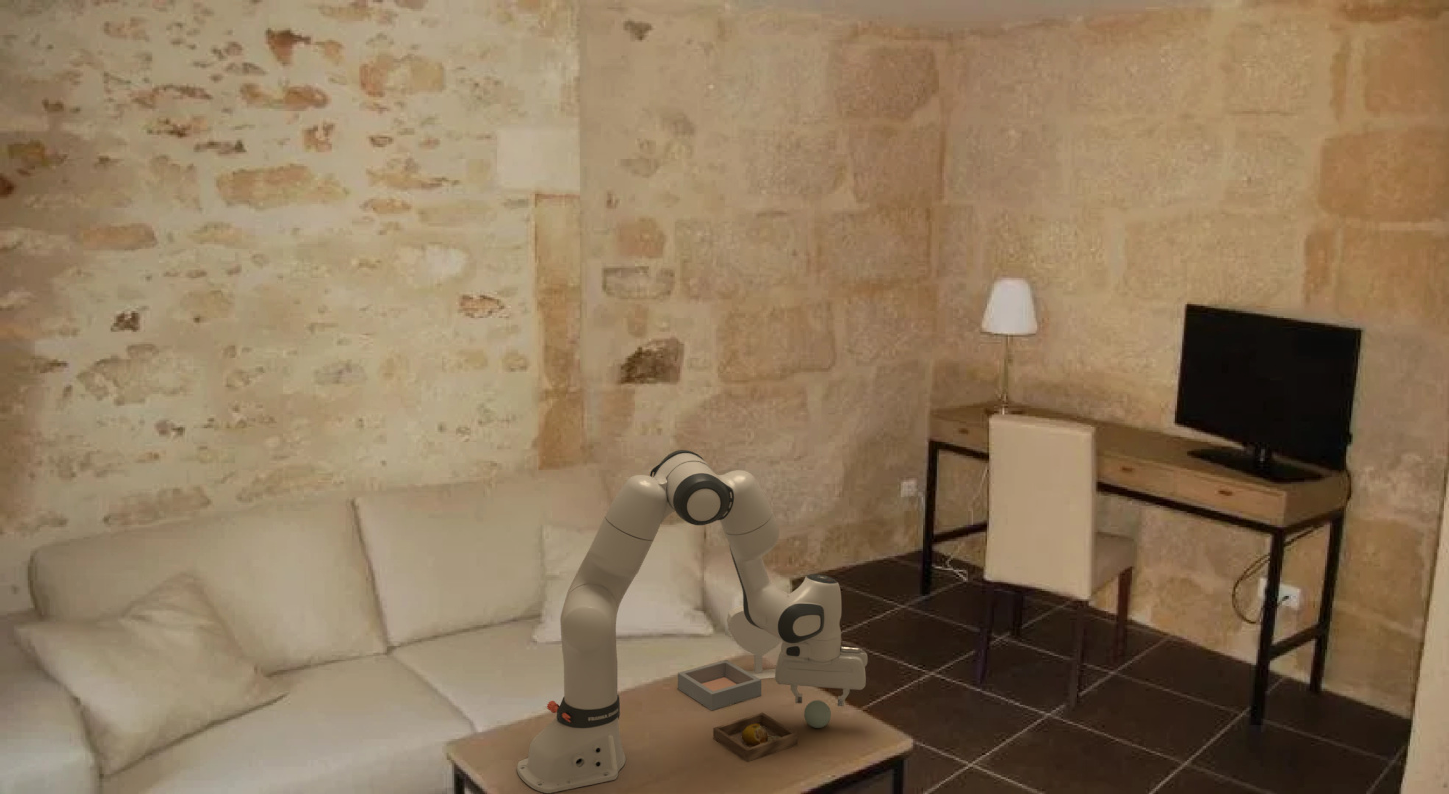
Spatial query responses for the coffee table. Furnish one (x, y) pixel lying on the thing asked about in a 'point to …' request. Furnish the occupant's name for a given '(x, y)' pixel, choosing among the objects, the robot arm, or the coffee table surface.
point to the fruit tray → (748, 754)
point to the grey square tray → (719, 684)
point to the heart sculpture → (752, 640)
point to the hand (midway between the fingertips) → (819, 703)
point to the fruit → (756, 735)
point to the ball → (817, 714)
